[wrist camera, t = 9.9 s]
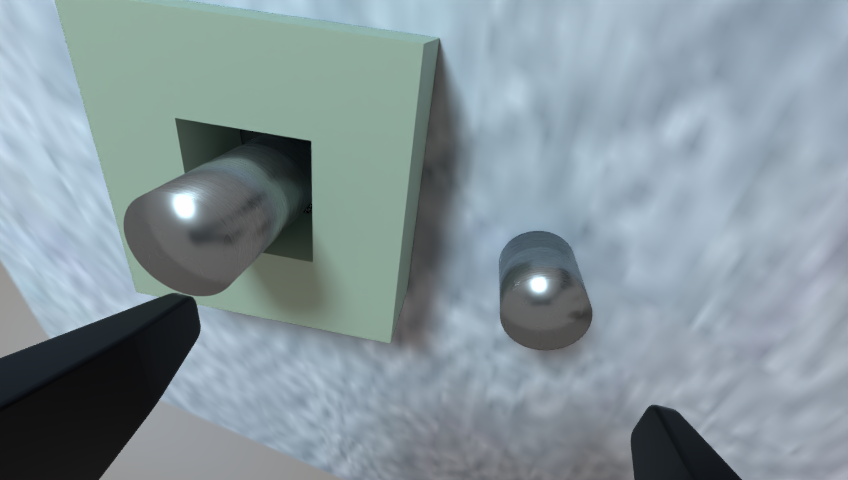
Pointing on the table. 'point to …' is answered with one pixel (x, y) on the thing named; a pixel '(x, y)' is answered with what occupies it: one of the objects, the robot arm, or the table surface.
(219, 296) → the hole block
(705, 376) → the table surface
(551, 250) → the short pin
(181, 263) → the long pin
